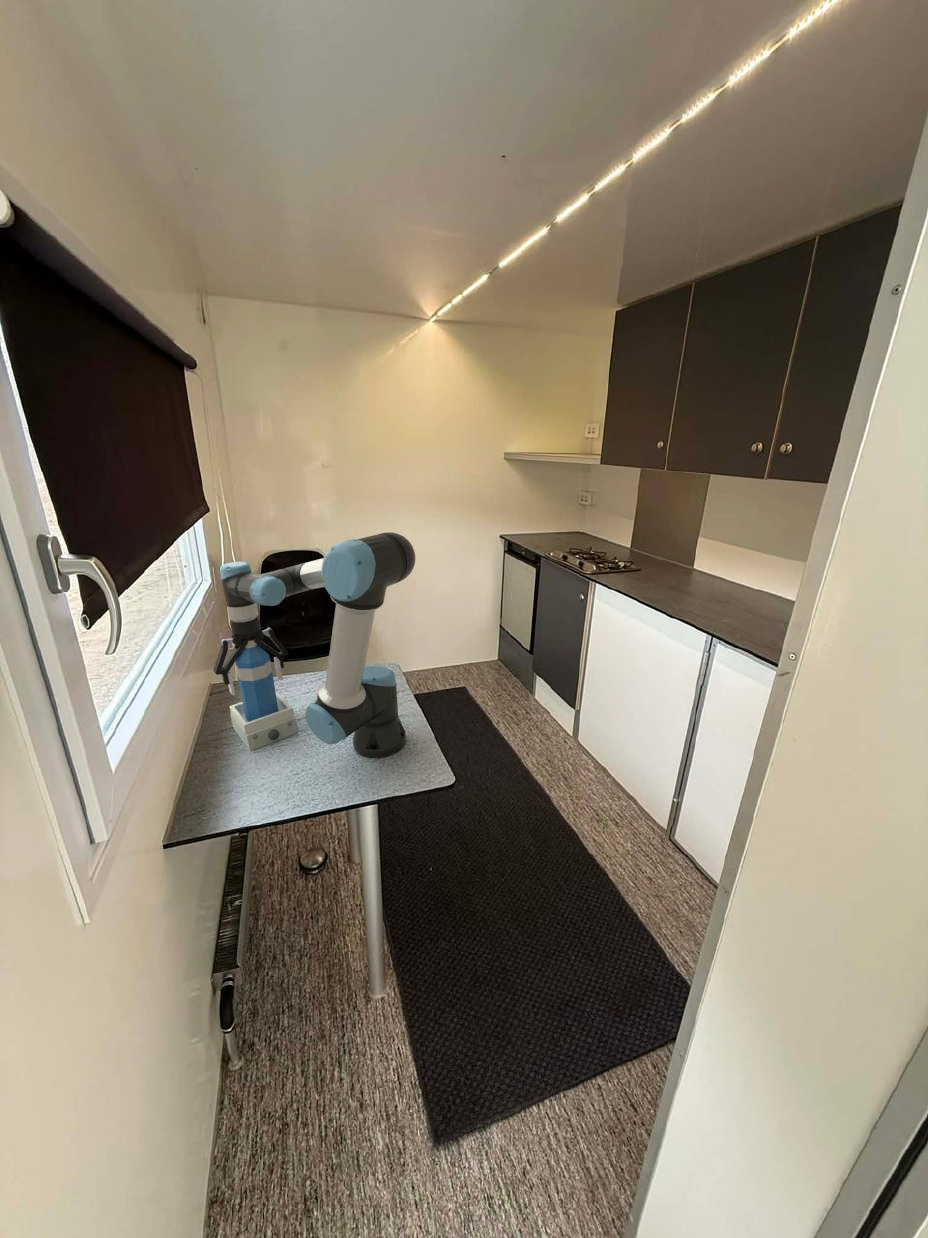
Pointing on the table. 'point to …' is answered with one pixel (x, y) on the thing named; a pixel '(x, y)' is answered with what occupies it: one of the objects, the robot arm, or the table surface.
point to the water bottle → (256, 682)
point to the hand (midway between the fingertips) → (256, 685)
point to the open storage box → (264, 725)
